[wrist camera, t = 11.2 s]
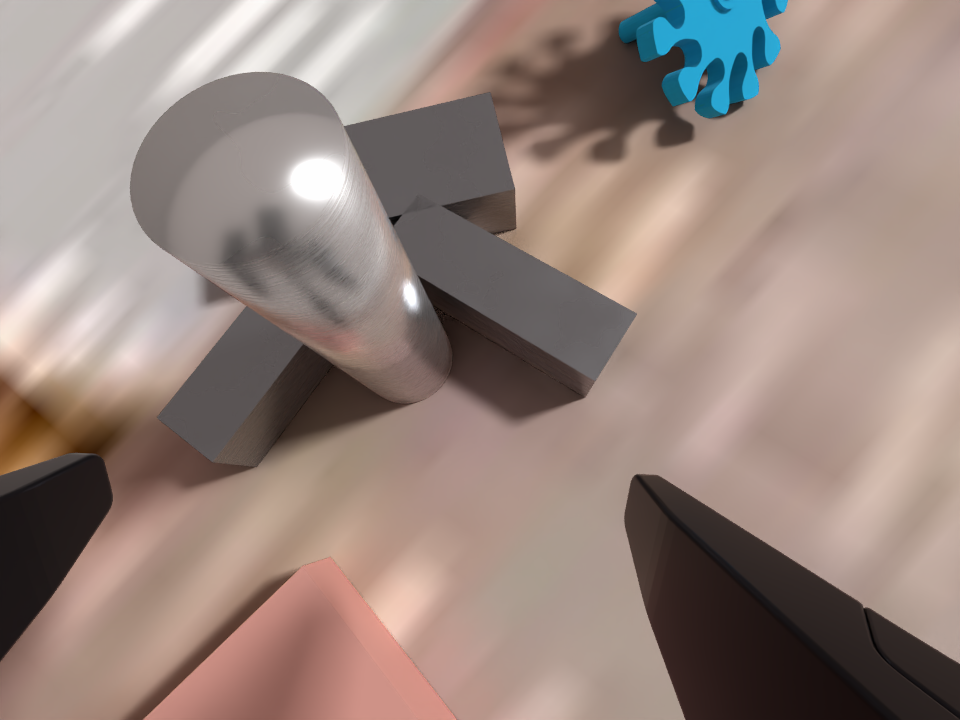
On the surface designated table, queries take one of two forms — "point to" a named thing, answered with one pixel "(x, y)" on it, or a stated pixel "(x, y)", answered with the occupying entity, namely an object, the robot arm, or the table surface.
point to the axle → (290, 227)
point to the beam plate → (307, 662)
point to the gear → (708, 47)
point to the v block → (441, 270)
